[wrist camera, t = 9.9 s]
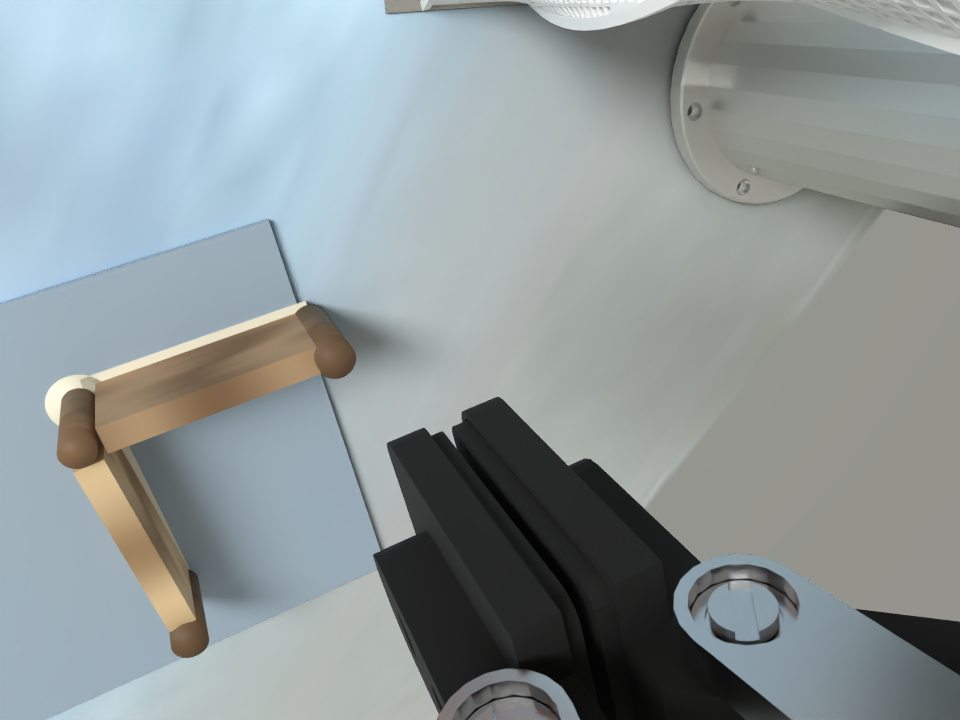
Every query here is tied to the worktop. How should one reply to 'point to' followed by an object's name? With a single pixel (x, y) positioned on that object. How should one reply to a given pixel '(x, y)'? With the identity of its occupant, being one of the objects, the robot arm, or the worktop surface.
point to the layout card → (160, 475)
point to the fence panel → (147, 548)
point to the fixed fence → (200, 384)
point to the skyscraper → (607, 3)
